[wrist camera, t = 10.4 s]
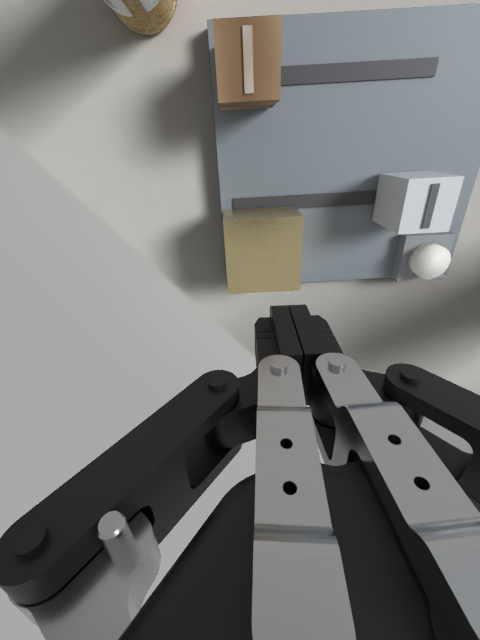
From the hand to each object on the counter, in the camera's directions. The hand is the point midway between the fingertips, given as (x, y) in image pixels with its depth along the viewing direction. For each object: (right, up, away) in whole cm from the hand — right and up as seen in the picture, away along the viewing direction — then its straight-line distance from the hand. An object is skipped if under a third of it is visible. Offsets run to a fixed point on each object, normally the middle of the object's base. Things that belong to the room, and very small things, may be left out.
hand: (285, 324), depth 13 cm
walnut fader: (-2, +16, +7) cm, 18 cm away
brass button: (0, +7, +12) cm, 14 cm away
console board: (+6, +12, +12) cm, 18 cm away
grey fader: (+11, +10, +11) cm, 18 cm away
